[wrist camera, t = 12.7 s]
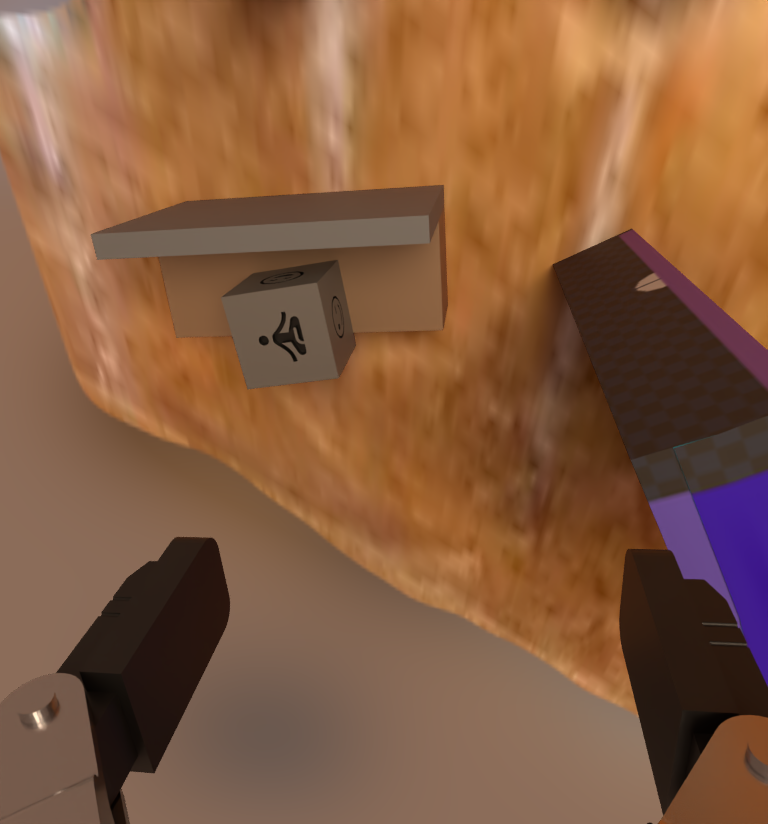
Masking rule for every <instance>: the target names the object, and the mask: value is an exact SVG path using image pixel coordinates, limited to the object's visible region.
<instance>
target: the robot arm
mask: <svg viewBox="0 0 768 824" xmlns="http://www.w3.org/2000/svg"><path fill="white" fill-rule="evenodd" d="M229 612H230V598H229V593H228V588H227V584H226V579H225V575H224V571H223V566H222V562H221V557H220V553H219V548H218V545H217V542H216V541H215V540H214V539H213V538H199V537H176V538H175V539H173V540H172V542H171V543H170V544H169V546H168V547H167V548H166V550H165V551H164V553H163V554H162V556H161V557H160V558H159V560H158V561H149V562H148V563H146V564H145V565H144V566H142V567H141V568H140V569H138V570H137V571H136V572H134V573H133V574H132V575H130V576H129V577H128V578H127V579H126V580H125V582H124V583H123V584H122V586H121V587H120V588H119V590H118V591H117V592H116V594H115V595H114V596H113V601H110V602H109V603H108V604H107V606H106V607H105V608H104V610H103V611H102V615H101V616H99V617H98V618H97V619H96V620H95V622H94V623H93V624H92V626H91V627H90V628H89V630H88V631H87V633H86V634H85V635H84V636H83V638H82V639H81V640H80V642H79V643H78V644H77V646H76V647H75V648H74V650H73V651H72V652H71V654H70V655H69V656H68V658H67V659H66V660H65V662H64V663H63V664H62V666H61V667H60V668H59V670H58V671H57V672H56V673H55V674H48V675H44V676H41V677H38V678H35V679H33V680H31V681H29V682H27V683H25V684H23V685H22V686H20V687H18V688H17V689H16V690H14V691H13V692H12V693H10V694H9V695H8V696H7V697H6V698H5V699H4V700H3V701H2V702H1V704H0V824H130V822H129V817H128V812H127V807H126V803H125V798H124V795H123V792H122V789H121V787H122V785H123V783H124V782H125V780H126V777H127V776H128V774H129V772H130V771H134V772H145V773H155V771H156V768H157V767H158V765H159V762H160V761H161V758H162V756H163V754H164V752H165V750H166V748H167V746H168V744H169V742H170V740H171V738H172V736H173V734H174V732H175V730H176V728H177V726H178V724H179V722H180V720H181V718H182V716H183V714H184V712H185V710H186V708H187V706H188V704H189V702H190V700H191V698H192V695H193V693H194V691H195V689H196V687H197V685H198V683H199V681H200V679H201V677H202V675H203V673H204V671H205V669H206V667H207V665H208V663H209V661H210V659H211V657H212V654H213V653H214V651H215V648H216V647H217V645H218V643H219V640H220V638H221V637H222V635H223V632H224V630H225V628H226V625H227V622H228V618H229ZM619 624H620V638H621V645H622V650H623V654H624V658H625V662H626V666H627V670H628V674H629V678H630V682H631V686H632V690H633V694H634V698H635V702H636V707H637V711H638V715H639V719H640V723H641V727H642V731H643V735H644V739H645V743H646V747H647V751H648V755H649V759H650V763H651V767H652V771H653V775H654V780H655V784H656V787H657V792H658V796H659V799H660V804H661V808H662V812H663V817H662V819H661V820H660V821H659V823H658V824H768V686H767V684H766V682H765V680H764V677H763V675H762V673H761V671H760V669H759V667H758V665H757V663H756V661H755V659H754V657H753V654H752V652H751V650H750V648H747V642H746V640H745V638H744V636H743V634H742V631H741V629H740V628H738V625H737V624H738V623H737V621H736V619H735V617H734V615H733V613H732V611H731V608H730V606H729V604H728V602H727V600H726V599H725V598H724V597H723V596H722V595H721V594H719V593H718V592H717V591H716V590H715V589H714V588H713V587H712V586H711V585H710V584H709V583H708V582H707V581H705V580H704V579H684V578H683V576H682V573H681V571H680V568H679V566H678V563H677V561H676V559H675V556H674V554H673V552H672V551H671V550H650V549H628V550H627V552H626V556H625V565H624V575H623V585H622V595H621V605H620V618H619ZM647 824H652V823H647Z"/></svg>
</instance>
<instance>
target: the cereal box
mask: <svg viewBox="0 0 768 824" xmlns="http://www.w3.org/2000/svg"><path fill="white" fill-rule="evenodd" d="M553 266H554V269H555V271H556V274H557V276H558V279H559V281H560V284H561V286H562V289H563V291H564V294H565V297H566V299H567V302H568V304H569V307H570V309H571V312H572V314H573V317H574V319H575V322H576V324H577V327H578V329H579V332H580V334H581V337H582V339H583V342H584V344H585V347H586V349H587V352H588V354H589V357H590V359H591V362H592V364H593V367H594V369H595V372H596V374H597V377H598V379H599V382H600V384H601V387H602V389H603V392H604V394H605V397H606V399H607V402H608V404H609V407H610V409H611V412H612V414H613V417H614V419H615V422H616V424H617V427H618V430H619V432H620V435H621V437H622V440H623V442H624V445H625V447H626V450H627V452H628V455H629V457H630V460H631V462H632V464H633V467H634V469H635V472H636V474H637V476H638V479H639V481H640V484H641V486H642V488H643V491H644V493H645V496H646V498H647V500H648V503H649V505H650V508H651V510H652V512H653V515H654V517H655V520H656V522H657V524H658V527H659V529H660V532H661V534H662V536H663V539H664V541H665V544H666V546H667V548H668V550H671V551H672V552H673V554H674V556H675V559H676V561H677V563H678V566H679V568H680V571H681V573H682V576H683V578H684V579H704V580H705V581H707V582H708V583H709V584H710V585H711V586H712V587H713V588H714V589H715V590H716V591H717V592H718V593H719V594H721V595H722V596H723V597H724V598H725V599H726V600H727V602H728V604H729V606H730V608H731V611H732V613H733V615H734V617H735V619H736V621H737V623H738V624H737V625H738V628H740V629H741V631H742V634H743V636H744V638H745V640H746V642H747V648H750V650H751V652H752V654H753V657H754V659H755V661H756V663H757V665H758V667H759V669H760V671H761V673H762V675H763V677H764V680H765V682H766V684H767V686H768V350H767V349H765V348H764V347H763V346H762V345H761V344H760V343H759V342H758V341H756V340H755V339H754V338H753V337H752V336H751V335H750V334H749V333H748V332H746V331H745V330H744V329H743V328H742V327H741V326H740V325H739V324H738V323H736V322H735V321H734V320H733V319H732V318H731V317H730V316H729V315H728V314H726V313H725V312H724V311H723V310H722V309H721V308H720V307H719V306H717V305H716V304H715V303H714V302H713V301H712V300H711V299H710V298H709V297H707V296H706V295H705V294H704V293H703V292H702V291H701V290H700V289H699V288H697V287H696V286H695V285H694V284H693V283H692V282H691V281H690V280H689V279H687V278H686V277H685V276H684V275H683V274H682V273H681V272H680V271H678V270H677V269H676V268H675V267H674V266H673V265H672V264H671V263H670V262H668V261H667V260H666V259H665V258H664V257H663V256H662V255H661V254H660V253H658V252H657V251H656V250H655V249H654V248H653V247H652V246H651V245H649V244H648V243H647V242H646V241H645V240H644V239H643V238H642V237H641V236H639V235H638V234H637V233H636V232H635V231H634V230H633V229H630V230H628V231H626V232H623V233H621V234H619V235H617V236H615V237H612V238H610V239H608V240H606V241H604V242H601V243H599V244H597V245H595V246H593V247H590V248H588V249H586V250H584V251H582V252H579V253H577V254H575V255H573V256H570V257H568V258H566V259H564V260H562V261H559V262H557V263H555V264H553Z"/></svg>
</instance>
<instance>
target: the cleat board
mask: <svg viewBox="0 0 768 824" xmlns="http://www.w3.org/2000/svg"><path fill="white" fill-rule="evenodd" d="M91 237H92V241H93V245H94V249H95V253H96V257H97V260H101V259H121V258H141V257H159V261H160V266H161V270H162V275H163V279H164V284H165V288H166V293H167V297H168V302H169V306H170V311H171V316H172V320H173V325H174V329H175V334H176V338H181V337H216V336H232V334H231V330H230V327H229V324H228V320H227V317H226V313H225V310H224V306H223V303H222V300H221V297H222V296H223V295H225V294H226V293H227V292H229V291H230V290H231V289H233V288H234V287H235V286H237V285H238V284H239V283H241V282H242V281H243V280H245V279H246V278H247V277H249V276H250V275H251V274H253V273H258V272H264V271H270V270H276V269H283V268H289V267H295V266H301V265H308V264H314V263H320V262H326V261H333V260H338V262H339V267H340V271H341V276H342V281H343V286H344V290H345V295H346V300H347V304H348V309H349V314H350V319H351V323H352V328H353V333H360V332H396V331H432V330H443V327H444V322H445V317H446V311H447V306H448V300H447V271H446V242H445V214H444V185H438V186H422V187H406V188H390V189H374V190H359V191H343V192H327V193H311V194H295V195H279V196H263V197H247V198H232V199H216V200H200V201H186V202H183V203H180V204H177V205H174V206H171V207H168V208H165V209H163V210H160V211H157V212H154V213H151V214H148V215H145V216H142V217H139V218H136V219H133V220H131V221H128V222H125V223H122V224H119V225H116V226H113V227H110V228H107V229H104V230H102V231H99V232H96V233H93V234H91Z"/></svg>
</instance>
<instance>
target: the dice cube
mask: <svg viewBox="0 0 768 824" xmlns="http://www.w3.org/2000/svg"><path fill="white" fill-rule="evenodd" d="M221 300H222V303H223V306H224V310H225V313H226V317H227V320H228V324H229V327H230V330H231V334H232V337H233V341H234V344H235V347H236V351H237V354H238V358H239V361H240V365H241V368H242V371H243V375H244V378H245V382H246V385H247V389H254V388H262V387H270V386H279V385H287V384H295V383H303V382H312V381H320V380H328V379H336V378H339V377H340V375H341V373H342V371H343V369H344V367H345V365H346V363H347V362H348V360H349V358H350V356H351V354H352V352H353V350H354V348H355V346H356V342H355V337H354V333H353V328H352V323H351V319H350V314H349V309H348V304H347V300H346V295H345V290H344V286H343V281H342V276H341V271H340V267H339V262H338V260H333V261H326V262H320V263H314V264H308V265H301V266H295V267H289V268H283V269H276V270H270V271H264V272H258V273H253V274H251V275H250V276H249V277H247V278H246V279H245V280H243V281H242V282H241V283H239V284H238V285H237V286H235V287H234V288H233V289H231V290H230V291H229V292H227V293H226V294H225V295H223V296H222V297H221Z"/></svg>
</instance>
